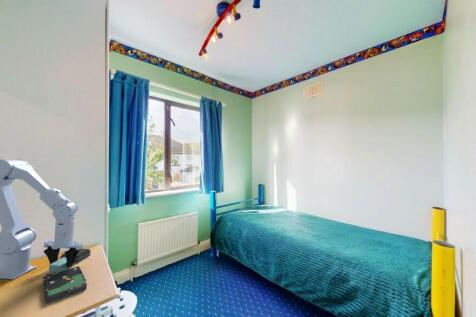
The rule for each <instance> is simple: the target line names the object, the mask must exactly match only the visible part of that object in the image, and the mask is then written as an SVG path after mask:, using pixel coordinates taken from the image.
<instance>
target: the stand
mask: <svg viewBox="0 0 476 317" xmlns="http://www.w3.org/2000/svg"><path fill="white" fill-rule="evenodd" d="M91 252H92V250H90V249H89V248H81V250H80V251H79V252H78V254H77V256H76V258H75V260H74V263H76V264H77V263H78V264H79V262H81V261H83V260H84V259H86V258H87V257H90V256H91ZM63 257H66V255H65V253H62V254H61V255H60V256H59V260H60V259H62V258H63Z"/></svg>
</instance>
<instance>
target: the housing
mask: <svg viewBox="0 0 476 317" xmlns="http://www.w3.org/2000/svg"><path fill="white" fill-rule="evenodd" d="M66 262H67V260H66V257H63V258H62V259H60V258H59V259H58V261H56V262H54V263H52V264H50V263H49V267H48V274H53V273H56V274H57V273H59V272H61V271H64V270H68V269H71V268H73V267H74V263H73V265H72V266H71V267H69V268H67V266H66ZM56 274H55V275H56Z"/></svg>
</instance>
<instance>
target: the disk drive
mask: <svg viewBox="0 0 476 317" xmlns="http://www.w3.org/2000/svg"><path fill="white" fill-rule="evenodd" d="M87 286H88V285H87V280H86V278H85V276H84V274H83V271H82V269H81V267H80V266H76V267H75V266H74V267H71V268H69V269H67V270H64V271H61V272H59V273H57V274H53V273H49V274H47V275H44V276H43V287H44V295H45V303H46V304H50V303H52V302H54V301H57V300H58V301H59V300H60V299H63V298H65V297H68V296H72V295H75V294H77V293H79V292H83V291H85V290H87Z"/></svg>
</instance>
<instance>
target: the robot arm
mask: <svg viewBox="0 0 476 317" xmlns="http://www.w3.org/2000/svg"><path fill="white" fill-rule="evenodd" d="M15 180H20V181H21V180H22V181H23V182H24V183H26V184H27V185H29V186H30V187H31V188H32V189H33V190H35V191H36V192H37V193H38V194H39V199H40V201H42V202H43V203H44V204H45V205H46V206H47V207H48V208H50V209H51V210H52V216H53V217H54V218H55V226H54V237H53V240H47V241H45V242H44V243H43V248H46V249H44V250H43V253H44V254H45V255H46V257H47V259H48V262H49V265H50V264H52V263H54V262H56V261H58V260H59V255H60V252H61V249H68V250H66V251H64V253H65V255H66V260H67V262H66V266H67V268H69V267H71V266H72V265H73V263H74V260H75V258H76V256H77V254H78V252H79V251H80V250H81V249H83V243H81V242H77V241H74V229H75V214H76V213H77V212H78V209H79V206H78V204H77V202H75V201H73V200H70V199H69V198H67V197H66V196H64V195H63V194H62V191H61V190H60V189H57V188H53V187H51V188H50V186H49V185H48V184H47V183H46V182H45V181H44V180H43V179H42V178H41V176H39V174H38V173H37V172H35V170H34V168H33V166H32V165H30V164H29V163H28V161H26V160H25V159H21V158H18V159H2V158H1V159H0V227H1V229H0V279H4V280H5V279H6V280H15V279H17V278H19V277H21V276H23V275H24V274H26V273H28V272H30V271H32V270H34V269H36V268H37V266H36V265H30V263H31V251H32V243H33V242H34V241H35V240H36V238H37V232H36V230H34V229H33V228H32V227H31V224H29V223H27V222H24V219H23V217H22V214H21V211H20V209H19V207H18V206H19V205H18V203H17V201H16V197H15V196H14V192H13V190H12V186H11V184H12V183H13V182H14V181H15ZM64 253H63V254H64ZM73 266H74V265H73ZM73 266H72V267H73ZM72 267H71V268H72ZM69 269H70V268H69Z"/></svg>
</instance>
